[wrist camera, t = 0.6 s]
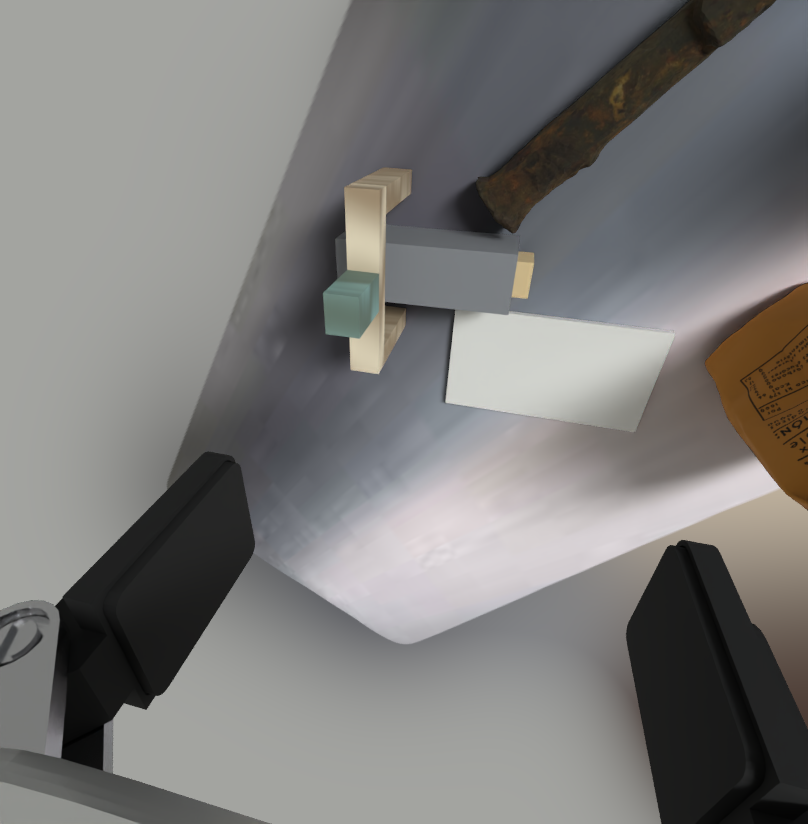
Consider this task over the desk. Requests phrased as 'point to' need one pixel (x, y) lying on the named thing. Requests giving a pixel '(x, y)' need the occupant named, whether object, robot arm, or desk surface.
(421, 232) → the grey block with cap
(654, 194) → the desk surface
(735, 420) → the coffee package
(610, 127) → the hand tool
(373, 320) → the wooden arch block
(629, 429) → the mat
